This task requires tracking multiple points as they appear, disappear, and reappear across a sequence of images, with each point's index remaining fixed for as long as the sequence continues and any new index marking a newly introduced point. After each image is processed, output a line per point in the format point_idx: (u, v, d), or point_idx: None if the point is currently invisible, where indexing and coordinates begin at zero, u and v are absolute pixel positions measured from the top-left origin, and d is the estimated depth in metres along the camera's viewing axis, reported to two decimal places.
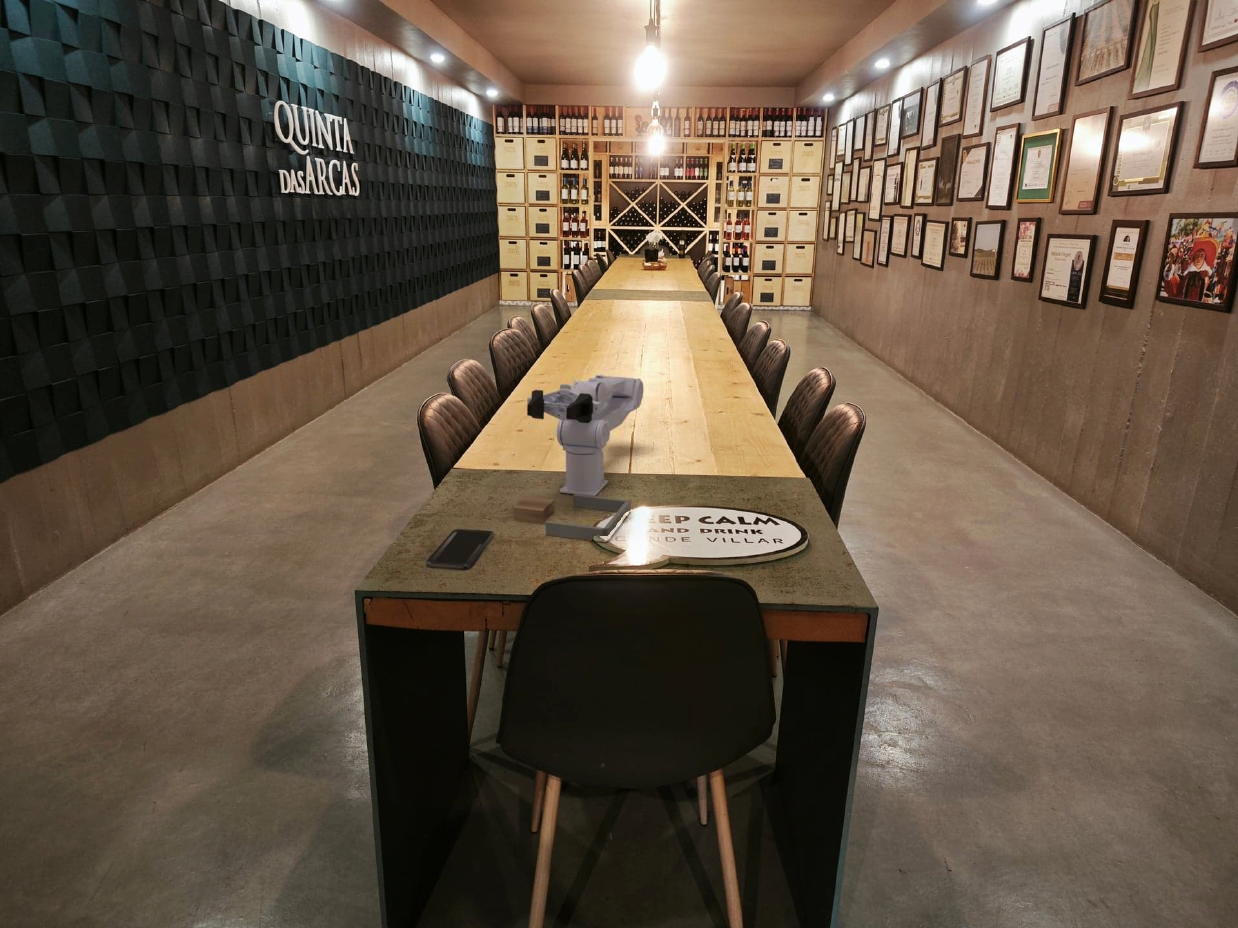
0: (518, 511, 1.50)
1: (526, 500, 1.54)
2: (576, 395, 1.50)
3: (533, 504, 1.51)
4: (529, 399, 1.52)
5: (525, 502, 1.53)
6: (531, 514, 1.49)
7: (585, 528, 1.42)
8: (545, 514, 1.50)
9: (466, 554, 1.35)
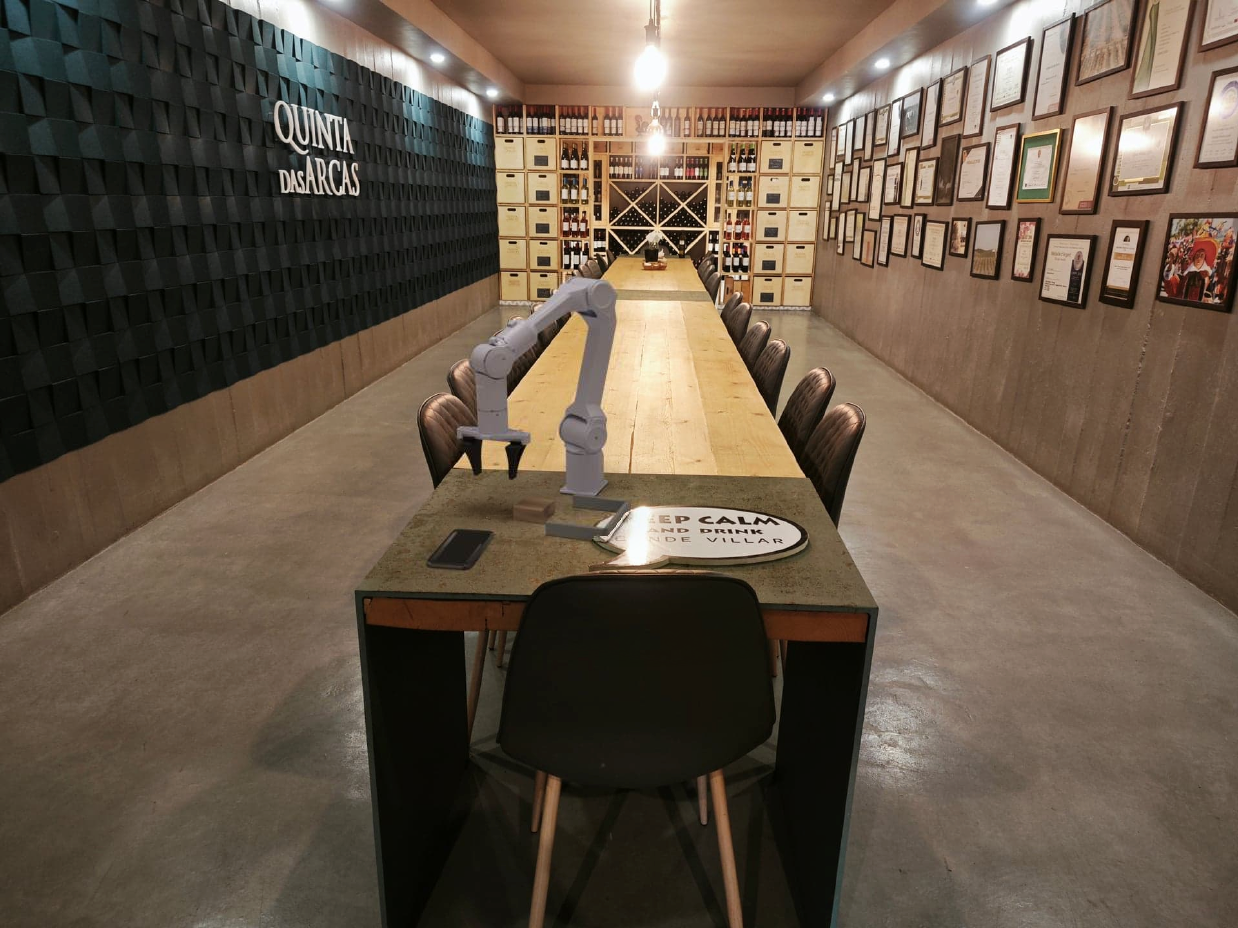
0: (518, 511, 1.50)
1: (526, 499, 1.54)
2: None
3: (533, 504, 1.51)
4: None
5: (525, 502, 1.53)
6: (531, 514, 1.49)
7: (585, 528, 1.42)
8: (545, 514, 1.50)
9: (466, 554, 1.35)
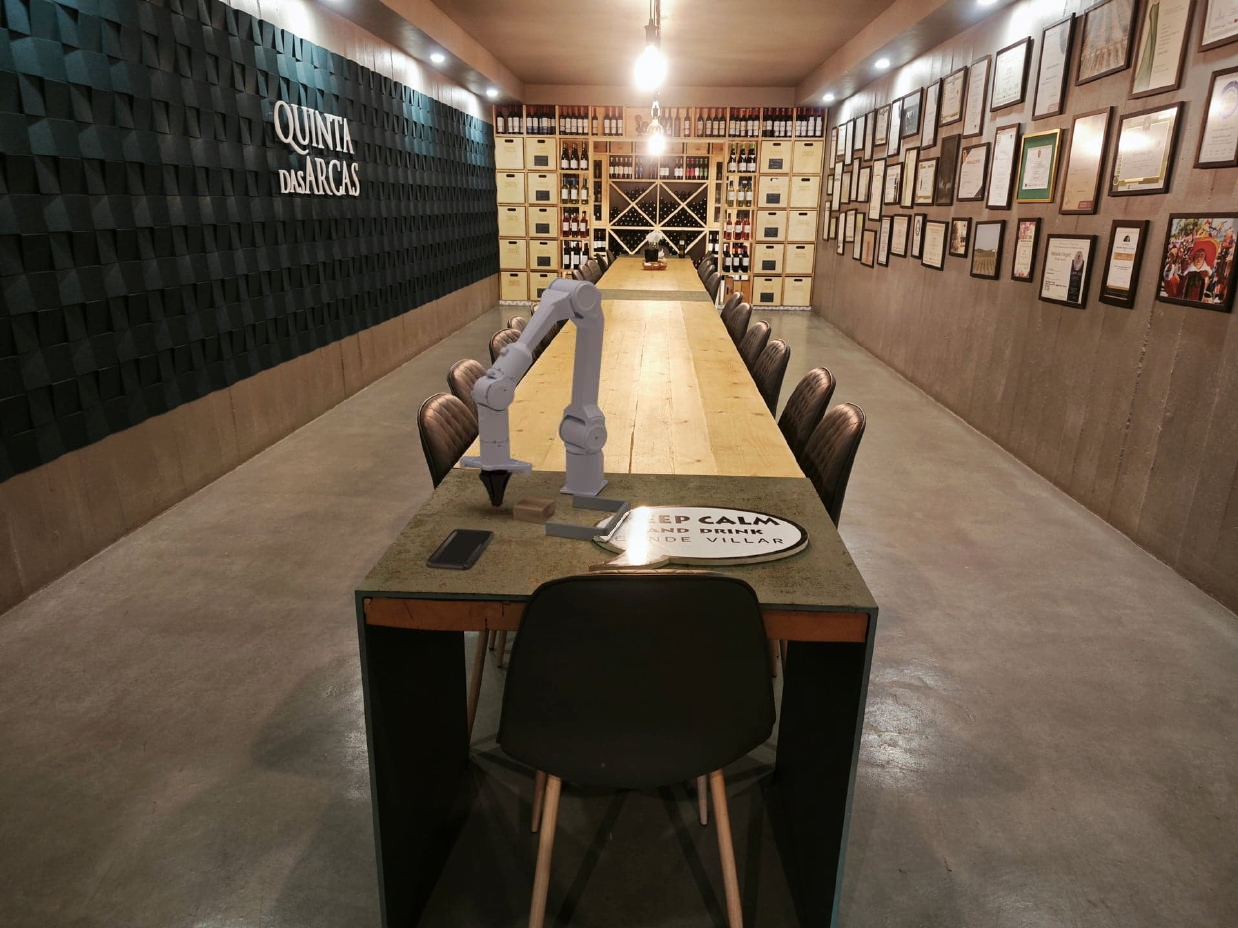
0: (518, 511, 1.50)
1: (526, 499, 1.54)
2: None
3: (533, 504, 1.51)
4: None
5: (525, 502, 1.53)
6: (530, 514, 1.49)
7: (585, 528, 1.42)
8: (544, 514, 1.50)
9: (466, 554, 1.35)
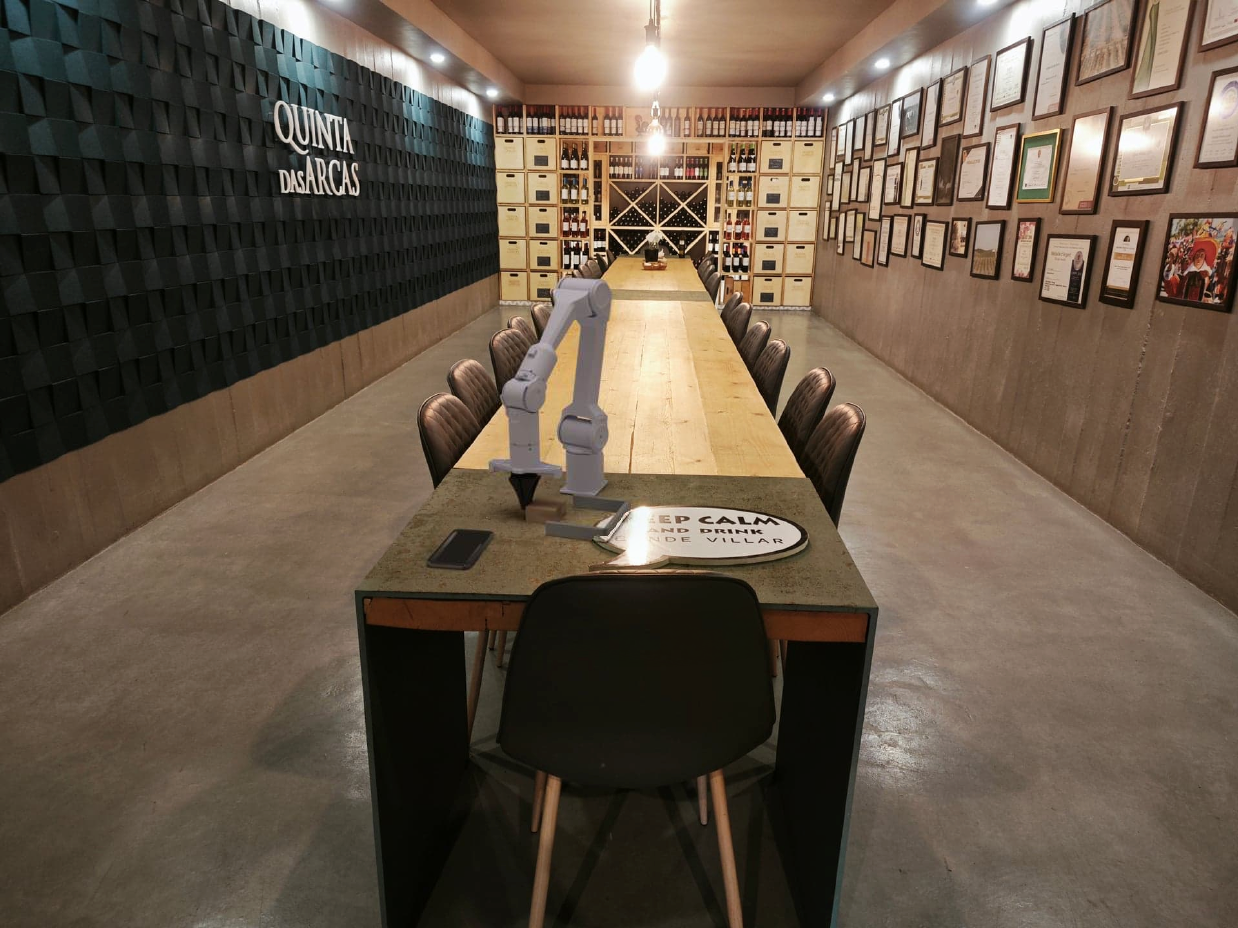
0: (530, 511, 1.50)
1: (538, 500, 1.53)
2: None
3: (545, 504, 1.51)
4: None
5: (537, 502, 1.52)
6: (544, 514, 1.49)
7: (585, 528, 1.42)
8: (557, 514, 1.50)
9: (466, 554, 1.35)
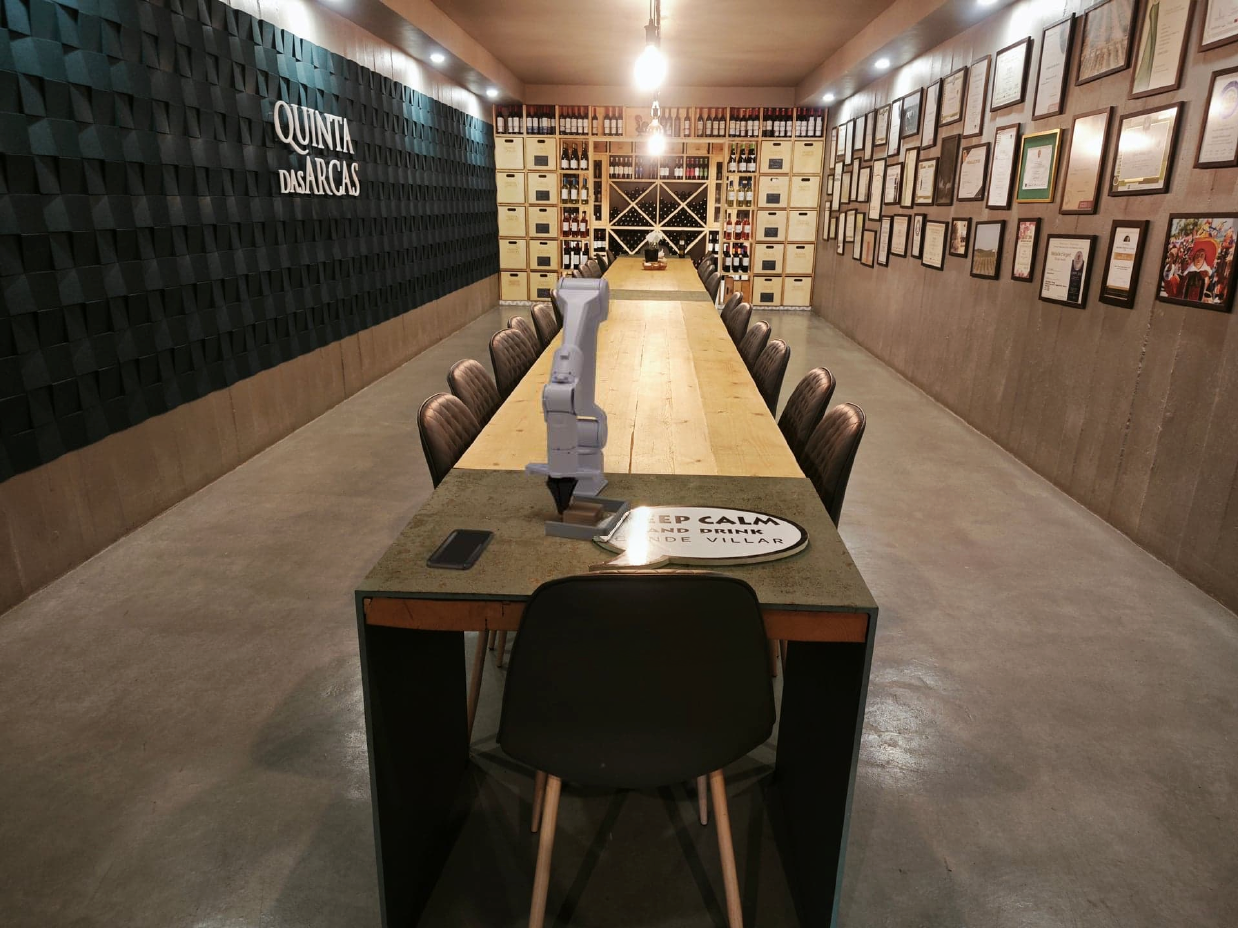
0: (568, 516, 1.47)
1: (575, 504, 1.51)
2: None
3: (582, 509, 1.49)
4: None
5: (574, 507, 1.50)
6: (582, 519, 1.47)
7: (585, 528, 1.42)
8: (595, 519, 1.48)
9: (466, 554, 1.35)
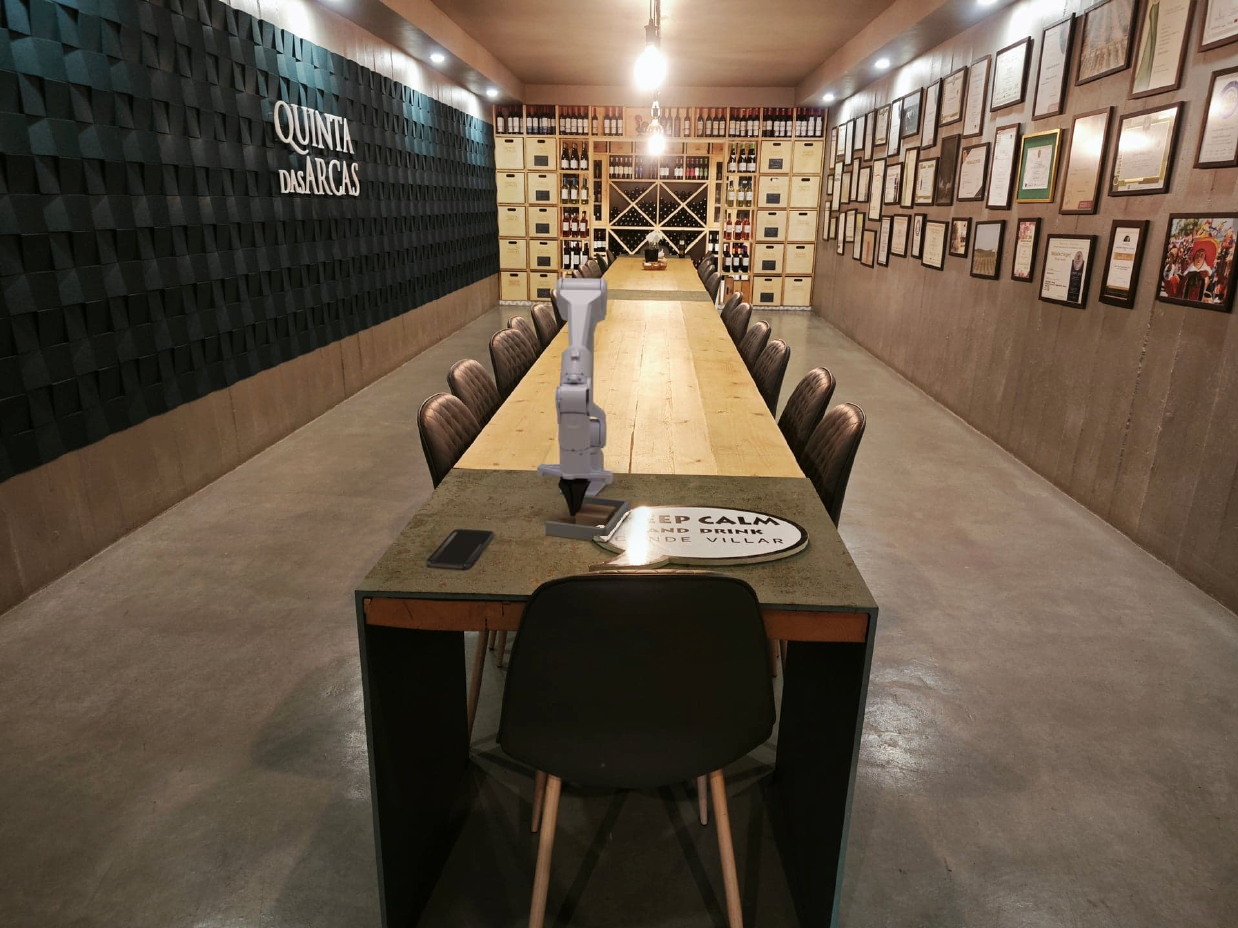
0: (580, 519, 1.47)
1: (587, 507, 1.51)
2: None
3: (595, 512, 1.48)
4: None
5: (586, 509, 1.49)
6: (594, 522, 1.46)
7: (585, 528, 1.42)
8: (608, 521, 1.47)
9: (466, 554, 1.35)
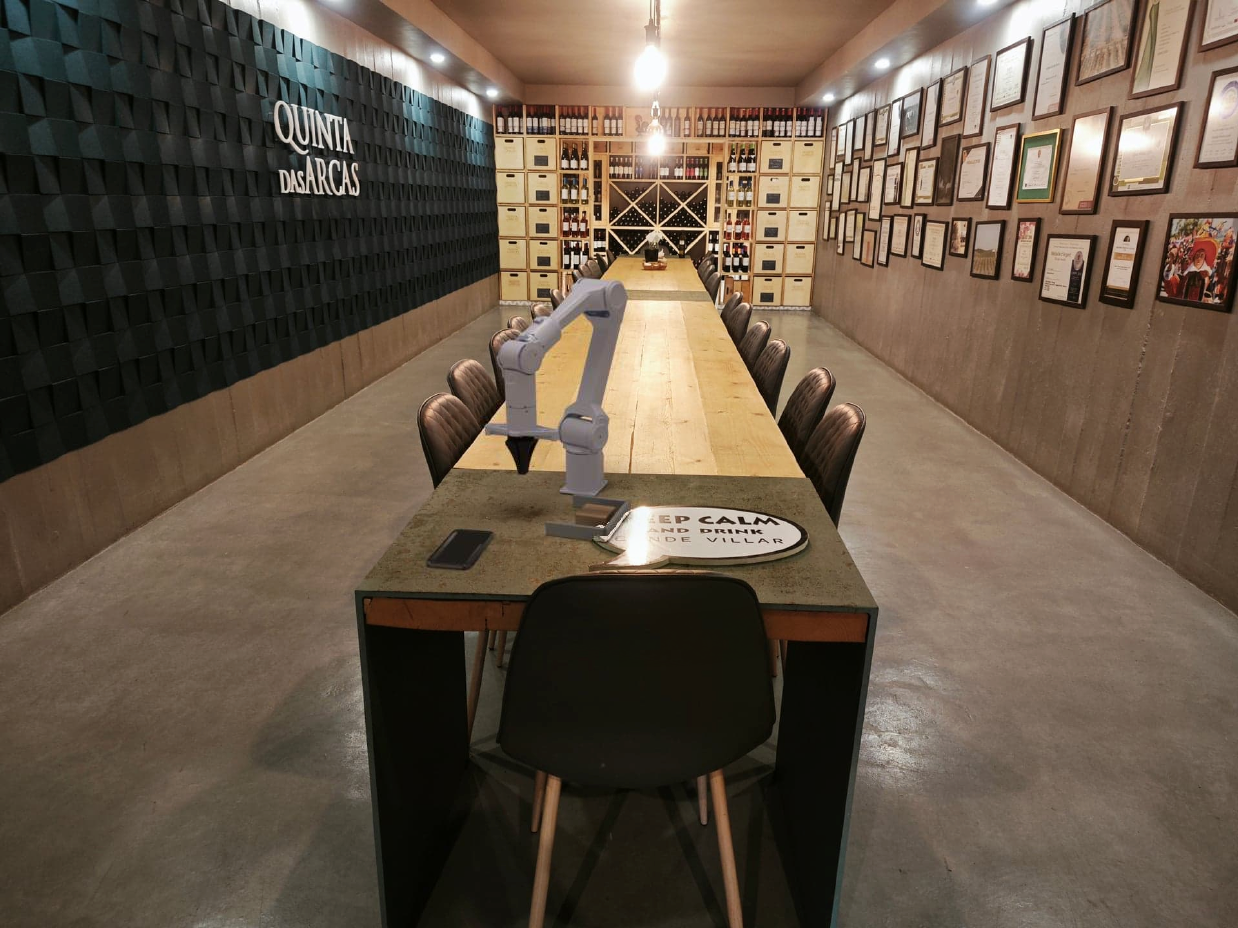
0: (580, 519, 1.47)
1: (587, 507, 1.51)
2: None
3: (595, 512, 1.48)
4: None
5: (587, 509, 1.49)
6: (594, 522, 1.46)
7: (585, 528, 1.42)
8: (608, 521, 1.47)
9: (466, 554, 1.35)
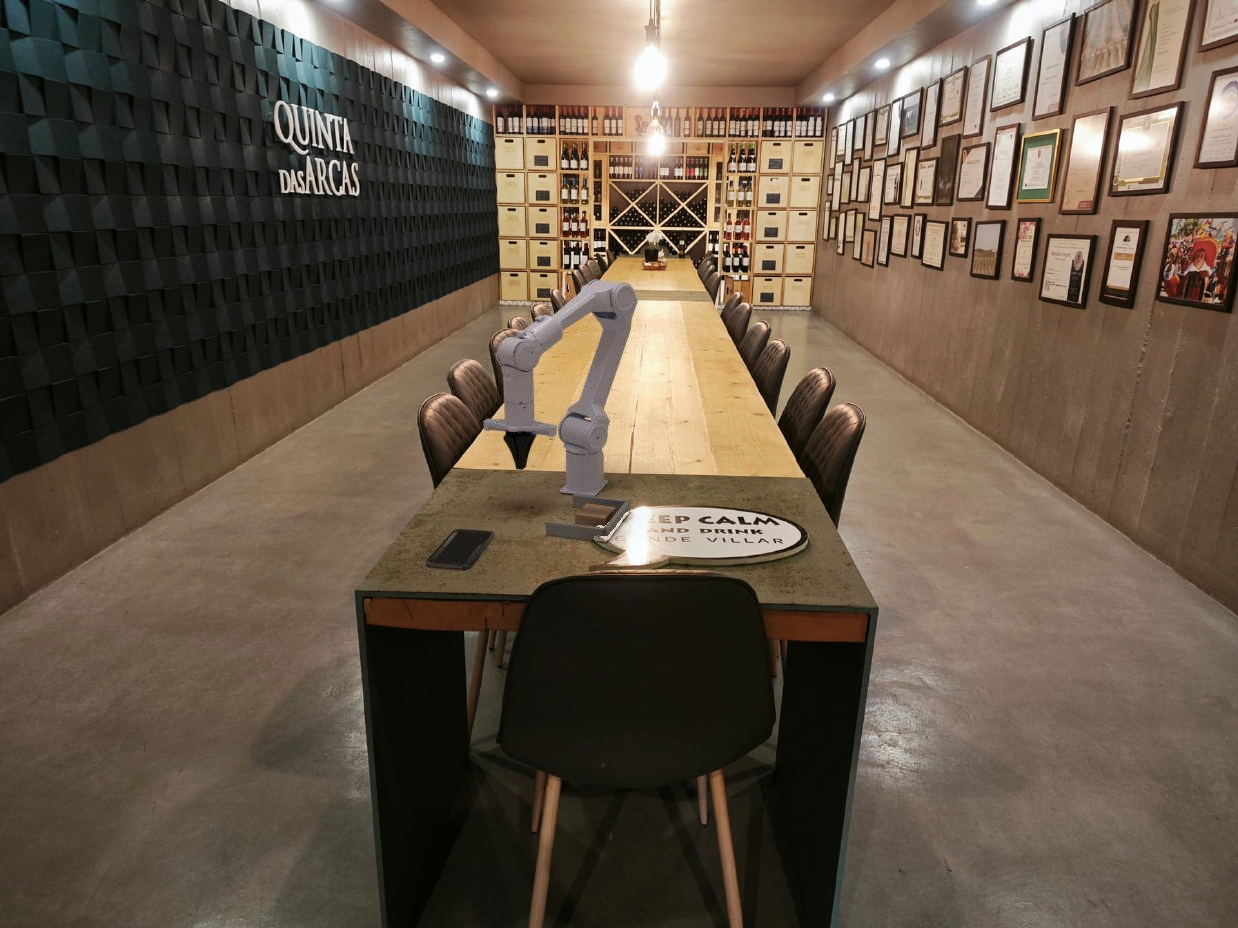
0: (580, 519, 1.47)
1: (587, 507, 1.51)
2: None
3: (595, 512, 1.48)
4: None
5: (587, 509, 1.49)
6: (593, 522, 1.46)
7: (585, 528, 1.42)
8: (607, 522, 1.47)
9: (466, 554, 1.35)
